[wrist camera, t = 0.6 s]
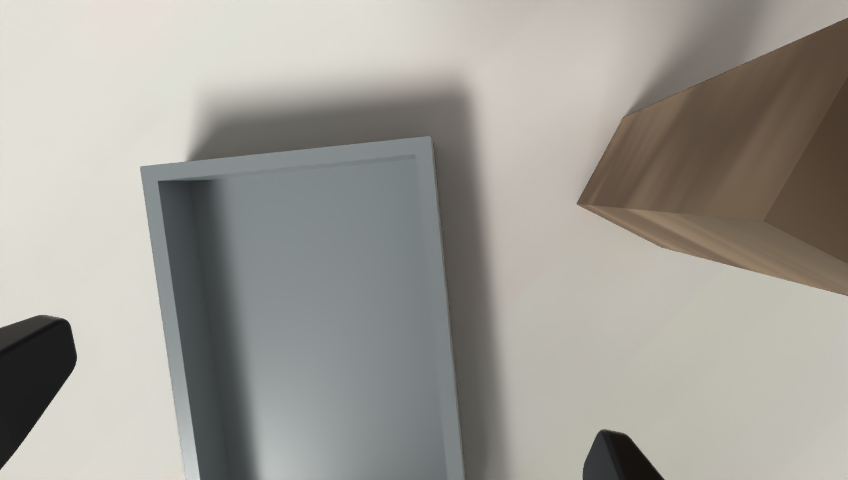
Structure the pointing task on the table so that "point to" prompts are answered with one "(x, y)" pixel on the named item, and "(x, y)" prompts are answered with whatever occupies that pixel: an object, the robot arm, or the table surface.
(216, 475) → the tray
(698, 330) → the table surface
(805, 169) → the block
